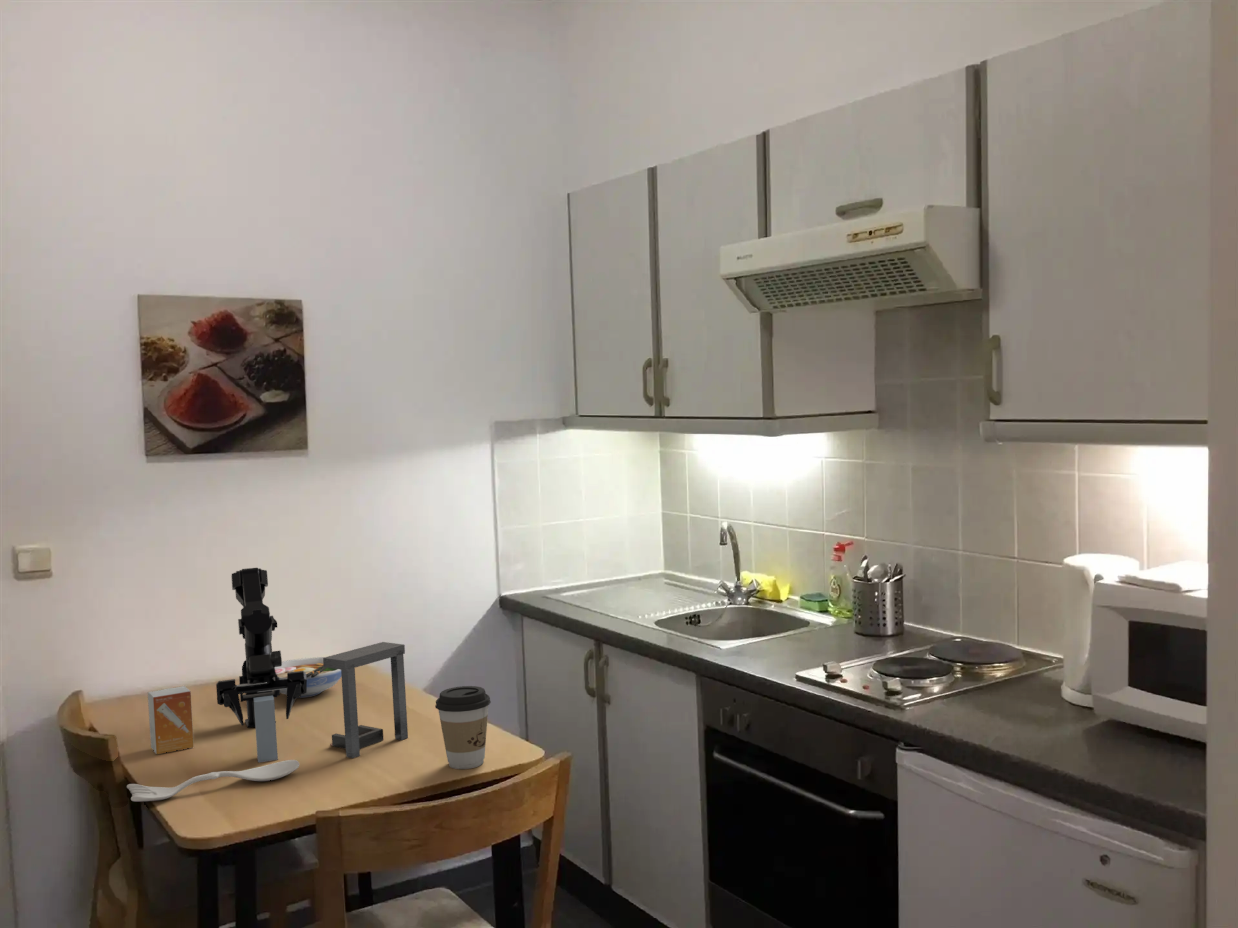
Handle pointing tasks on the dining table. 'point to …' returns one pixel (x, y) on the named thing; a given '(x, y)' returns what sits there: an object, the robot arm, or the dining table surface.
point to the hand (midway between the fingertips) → (265, 720)
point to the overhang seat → (356, 734)
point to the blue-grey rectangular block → (265, 728)
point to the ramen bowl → (310, 674)
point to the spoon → (252, 774)
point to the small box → (170, 719)
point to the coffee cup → (464, 725)
